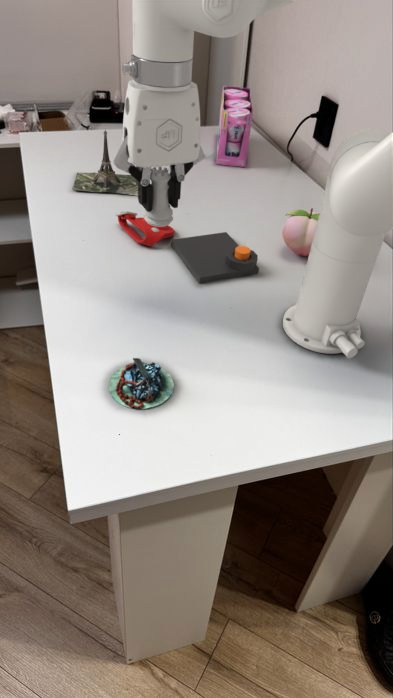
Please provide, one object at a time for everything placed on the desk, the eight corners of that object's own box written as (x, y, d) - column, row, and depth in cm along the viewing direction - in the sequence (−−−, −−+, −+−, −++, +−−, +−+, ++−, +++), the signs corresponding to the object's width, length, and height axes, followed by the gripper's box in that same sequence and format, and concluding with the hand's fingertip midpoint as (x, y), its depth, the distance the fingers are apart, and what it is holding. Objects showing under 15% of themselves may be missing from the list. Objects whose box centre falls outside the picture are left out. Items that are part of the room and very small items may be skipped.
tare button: (252, 259, 97) (253, 252, 96) (238, 261, 96) (239, 254, 95) (245, 252, 99) (246, 244, 98) (231, 254, 98) (232, 246, 97)
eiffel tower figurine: (140, 177, 127) (141, 119, 119) (139, 195, 120) (140, 135, 111) (77, 174, 126) (73, 115, 117) (72, 192, 118) (67, 131, 110)
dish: (182, 388, 71) (138, 353, 69) (147, 428, 71) (102, 395, 69) (176, 372, 78) (136, 340, 76) (144, 408, 79) (104, 378, 77)
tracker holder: (175, 220, 110) (177, 233, 101) (169, 240, 112) (170, 254, 103) (118, 203, 107) (114, 214, 98) (113, 224, 109) (109, 236, 100)
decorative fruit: (326, 249, 108) (338, 203, 101) (322, 269, 102) (335, 222, 95) (280, 240, 109) (290, 194, 103) (274, 259, 103) (284, 211, 97)
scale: (260, 274, 99) (263, 260, 97) (199, 285, 94) (201, 270, 92) (227, 237, 108) (228, 224, 106) (170, 245, 104) (171, 232, 102)
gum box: (246, 169, 136) (254, 114, 128) (215, 167, 136) (221, 111, 128) (244, 138, 155) (251, 87, 146) (217, 135, 155) (222, 85, 146)
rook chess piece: (169, 229, 79) (171, 177, 74) (140, 225, 80) (140, 173, 74) (175, 216, 83) (178, 166, 77) (147, 212, 83) (148, 162, 78)
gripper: (109, 82, 62) (114, 225, 74) (233, 76, 68) (219, 209, 80) (90, 66, 67) (98, 202, 79) (207, 62, 73) (198, 189, 85)
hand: (159, 204), depth 79 cm, fingers closed on rook chess piece, 3 cm apart
